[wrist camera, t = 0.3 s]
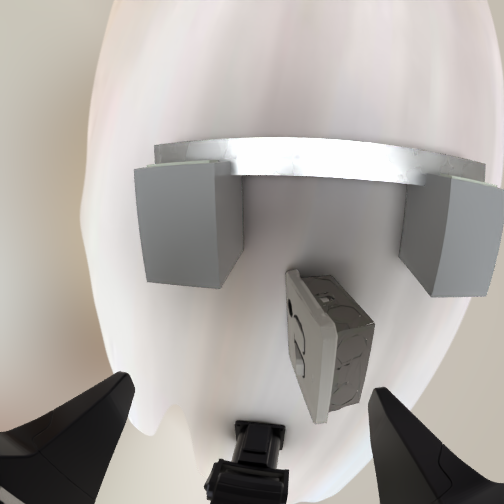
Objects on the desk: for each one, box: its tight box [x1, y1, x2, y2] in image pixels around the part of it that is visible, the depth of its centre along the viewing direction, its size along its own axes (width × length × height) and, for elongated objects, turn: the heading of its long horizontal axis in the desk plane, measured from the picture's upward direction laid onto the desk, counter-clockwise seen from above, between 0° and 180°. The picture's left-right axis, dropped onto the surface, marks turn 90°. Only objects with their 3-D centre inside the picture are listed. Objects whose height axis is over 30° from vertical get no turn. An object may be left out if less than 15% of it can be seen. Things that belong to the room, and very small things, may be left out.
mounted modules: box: [134, 160, 504, 297], centre depth 17 cm, size 7×23×7 cm, turn 91°
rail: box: [154, 138, 486, 186], centre depth 17 cm, size 2×24×4 cm, turn 91°
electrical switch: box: [286, 269, 375, 424], centre depth 20 cm, size 9×5×9 cm, turn 5°
